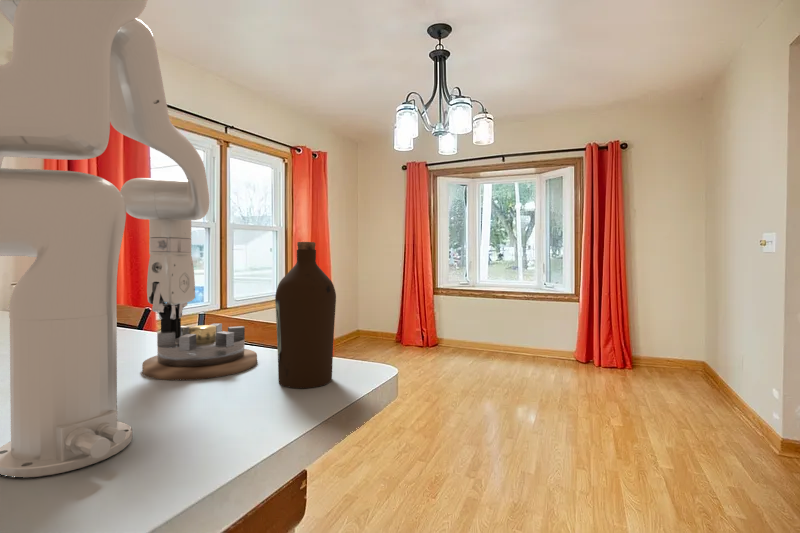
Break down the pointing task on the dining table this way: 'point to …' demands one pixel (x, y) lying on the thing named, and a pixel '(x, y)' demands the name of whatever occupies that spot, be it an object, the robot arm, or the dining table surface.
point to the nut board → (198, 368)
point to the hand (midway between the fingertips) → (170, 337)
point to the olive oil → (305, 323)
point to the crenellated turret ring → (200, 345)
